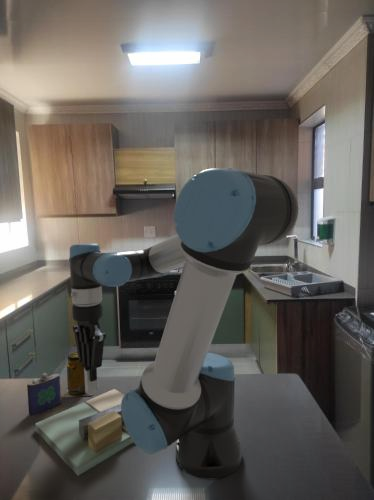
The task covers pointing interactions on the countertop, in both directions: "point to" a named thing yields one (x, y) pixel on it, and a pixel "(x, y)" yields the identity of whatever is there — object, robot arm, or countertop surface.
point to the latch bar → (84, 422)
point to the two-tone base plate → (99, 432)
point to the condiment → (75, 377)
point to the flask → (44, 394)
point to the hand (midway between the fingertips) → (91, 391)
